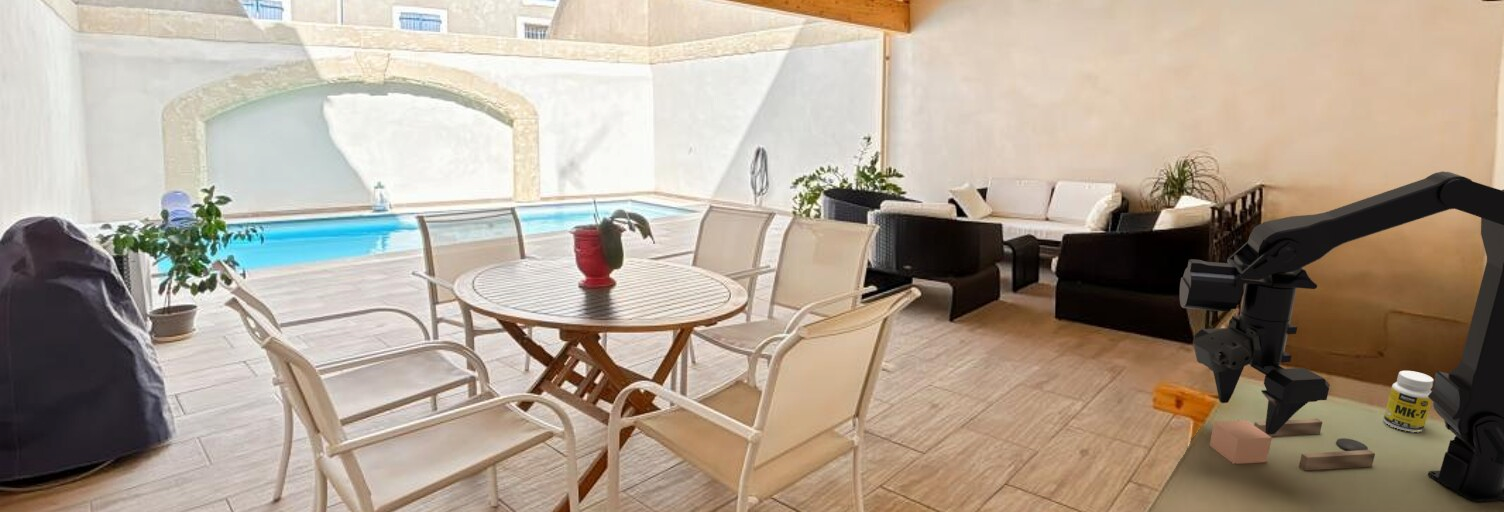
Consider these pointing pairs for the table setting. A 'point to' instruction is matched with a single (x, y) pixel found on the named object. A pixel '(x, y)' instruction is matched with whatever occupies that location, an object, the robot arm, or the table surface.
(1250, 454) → the terracotta block
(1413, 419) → the supplement bottle
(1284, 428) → the channel
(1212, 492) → the table surface
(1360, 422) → the table surface
